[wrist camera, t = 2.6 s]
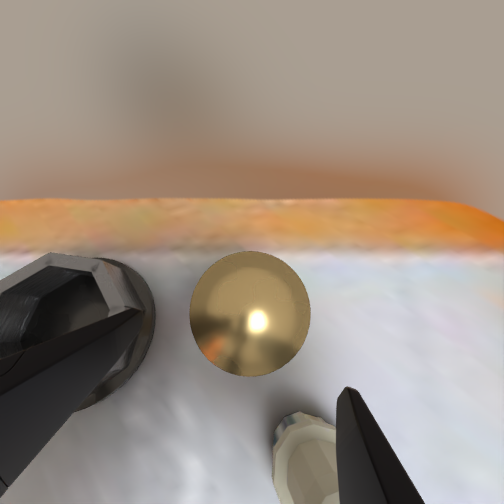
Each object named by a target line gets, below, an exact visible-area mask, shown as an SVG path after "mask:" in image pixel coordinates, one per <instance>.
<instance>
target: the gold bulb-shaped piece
mask: <svg viewBox="0 0 504 504" xmlns="http://www.w3.org/2000/svg"><path fill="white" fill-rule="evenodd" d="M190 325H191V330H192V333H193V336H194V339H195V341H196V343H197V345H198V347H199V349H200V350H201V351H202V353H203V354H204V355H205V356H206V357H207V359H208V360H209V361H211V362H212V363H213V364H214V365H215V366H217V367H219V368H220V369H222V370H224V371H226V372H229V373H231V374H235V375H239V376H247V377H250V376H260V375H265V374H268V373H271V372H274V371H276V370H277V369H279V368H281V367H283V366H284V365H285V364H287V363H288V362H289V361H290V360H291V359H292V358H293V357H294V356H295V355H296V354H297V352H298V351H299V350H300V348H301V346H302V345H303V343H304V341H305V338H306V336H307V333H308V329H309V325H310V303H309V298H308V294H307V291H306V289H305V286H304V284H303V283H302V281H301V279H300V278H299V276H298V275H297V274H296V272H295V271H294V270H293V269H292V268H291V267H290V266H288V265H287V264H286V263H285V262H283V261H282V260H280V259H278V258H276V257H274V256H272V255H269V254H266V253H262V252H254V251H247V252H239V253H235V254H231V255H229V256H226V257H224V258H222V259H221V260H219V261H217V262H216V263H215V264H213V265H212V266H211V267H210V268H209V269H208V270H207V271H206V272H205V273H204V274H203V276H202V277H201V278H200V280H199V282H198V283H197V285H196V287H195V289H194V292H193V295H192V298H191V304H190Z"/></svg>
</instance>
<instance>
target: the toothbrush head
mask: <svg viewBox="0 0 504 504" xmlns="http://www.w3.org/2000/svg"><path fill="white" fill-rule="evenodd" d="M272 479H273V484H274V487H275V490H276V492H277V495H278V498H279V501H280V503H281V504H340V502H339V489H338V475H337V462H336V428H335V427H334V426H333V425H330V424H327V423H326V422H325V421H324V420H323V419H322V418H321V417H320V416H319V417H314V416H310V415H307V414H303V413H302V412H301V411H300V412H297V413H294V414H291V415H288V416H285V417H284V418H283V420H282V421H281V423H280V424H279V426H278V427H277V429H276V430H275V432H274V440H273V466H272Z"/></svg>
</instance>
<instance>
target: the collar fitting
mask: <svg viewBox="0 0 504 504" xmlns="http://www.w3.org/2000/svg"><path fill="white" fill-rule="evenodd" d="M130 308H137V309H140V310H142V312H143V325H142V328H141V329H140V331H139V332H138V334H137V335H136V336H135V338H134V339H133V341H132V342H131V343H130V345H129V346H128V348H127V349H126V350H125V352H124V353H123V355H122V356H121V357H120V359H119V360H118V361H117V362H116V364H115V365H114V366H113V367H112V368H111V369H110V371H109V372H108V373H107V374H106V375H105V376H104V378H103V379H102V380H101V381H100V382H99V383H98V385H97V386H96V387H95V388H94V389H93V390H92V391H91V393H90V394H89V395H88V396H87V397H86V398H85V400H84V401H83V402H82V403H81V404H80V405H79V407H78V408H77V409H76V410H75V411H74V412H76V411H79V410H82V409H85V408H87V407H89V406H91V405H94V404H96V403H98V402H100V401H102V400H104V399H105V398H107V397H108V396H110V395H111V394H113V393H114V392H115V391H117V390H118V389H119V388H120V387H121V386H123V385H124V384H125V382H126V381H127V380H128V379H129V378H130V377H131V376H132V375H133V373H134V372H135V371H136V370H137V368H138V367H139V365H140V364H141V362H142V360H143V359H144V357H145V355H146V353H147V350H148V348H149V345H150V343H151V340H152V336H153V332H154V326H155V306H154V300H153V297H152V294H151V291H150V289H149V287H148V285H147V284H146V282H145V281H144V279H143V278H142V277H141V276H140V275H139V274H138V273H137V272H136V271H134V270H133V269H131V268H130V267H128V266H126V265H124V264H122V263H120V262H117V261H114V260H110V259H106V258H86V257H79V256H72V255H65V254H58V253H51V252H50V253H48V254H46V255H44V256H42V257H41V258H39V259H37V260H35V261H34V262H32V263H30V264H28V265H27V266H25V267H23V268H21V269H20V270H18V271H16V272H14V273H13V274H11V275H9V276H7V277H6V278H4V279H2V280H0V359H2V358H5V357H7V356H10V355H12V354H15V353H18V352H20V351H23V350H27V349H28V348H30V347H33V346H36V345H38V344H41V343H43V342H46V341H48V340H51V339H53V338H56V337H59V336H61V335H64V334H66V333H69V332H71V331H74V330H76V329H79V328H82V327H84V326H87V325H89V324H92V323H94V322H97V321H99V320H102V319H104V318H107V317H110V316H112V315H115V314H117V313H120V312H122V311H125V310H127V309H130Z"/></svg>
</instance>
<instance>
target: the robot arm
mask: <svg viewBox="0 0 504 504" xmlns="http://www.w3.org/2000/svg"><path fill="white" fill-rule="evenodd" d="M142 325H143V312H142V310H140V309H137V308H130V309H127V310H125V311H122V312H120V313H117V314H115V315H112V316H110V317H107V318H104V319H102V320H99V321H97V322H94V323H92V324H89V325H87V326H84V327H82V328H79V329H76V330H74V331H71V332H69V333H66V334H64V335H61V336H59V337H56V338H53V339H51V340H48V341H46V342H43V343H41V344H38V345H36V346H33V347H30V348H28V349H27V350H23V351H20V352H18V353H15V354H12V355H10V356H7V357H5V358H2V359H0V497H1V496H2V495H3V494H4V493H5V492H6V490H7V489H8V487H10V486H11V484H12V483H13V482H14V481H15V480H16V479H17V477H18V476H19V475H20V474H21V473H22V472H23V470H24V469H25V468H26V467H27V466H28V465H29V464H30V462H31V461H32V460H33V459H34V458H35V457H36V455H37V454H38V453H39V452H40V451H41V450H42V448H43V447H44V446H45V445H46V444H47V443H48V441H49V440H50V439H51V438H52V437H53V436H54V434H55V433H56V432H57V431H58V430H59V429H60V427H61V426H62V425H63V424H64V423H65V422H66V421H67V419H68V418H69V417H70V416H71V415H72V414H73V412H74V411H75V410H76V409H77V408H78V407H79V405H80V404H81V403H82V402H83V401H84V400H85V398H86V397H87V396H88V395H89V394H90V393H91V391H92V390H93V389H94V388H95V387H96V386H97V385H98V383H99V382H100V381H101V380H102V379H103V378H104V376H105V375H106V374H107V373H108V372H109V371H110V369H111V368H112V367H113V366H114V365H115V364H116V362H117V361H118V360H119V359H120V357H121V356H122V355H123V353H124V352H125V350H126V349H127V348H128V346H129V345H130V343H131V342H132V341H133V339H134V338H135V336H136V335H137V334H138V332H139V331H140V329H141V328H142ZM336 462H337V475H338V489H339V502H340V504H425V503H424V501H423V499H422V498H421V496H420V494H419V493H418V491H417V489H416V488H415V486H414V484H413V483H412V481H411V479H410V478H409V476H408V474H407V473H406V471H405V469H404V467H403V466H402V464H401V462H400V461H399V459H398V457H397V456H396V454H395V452H394V451H393V449H392V447H391V446H390V444H389V442H388V440H387V439H386V437H385V435H384V434H383V432H382V430H381V429H380V427H379V425H378V424H377V422H376V420H375V419H374V417H373V415H372V414H371V412H370V410H369V408H368V407H367V405H366V403H365V402H364V400H363V398H362V397H361V395H360V393H359V392H358V391H357V390H356V389H353V388H351V387H345V388H344V390H343V391H342V392H341V394H340V395H339V397H338V399H337V407H336Z"/></svg>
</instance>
